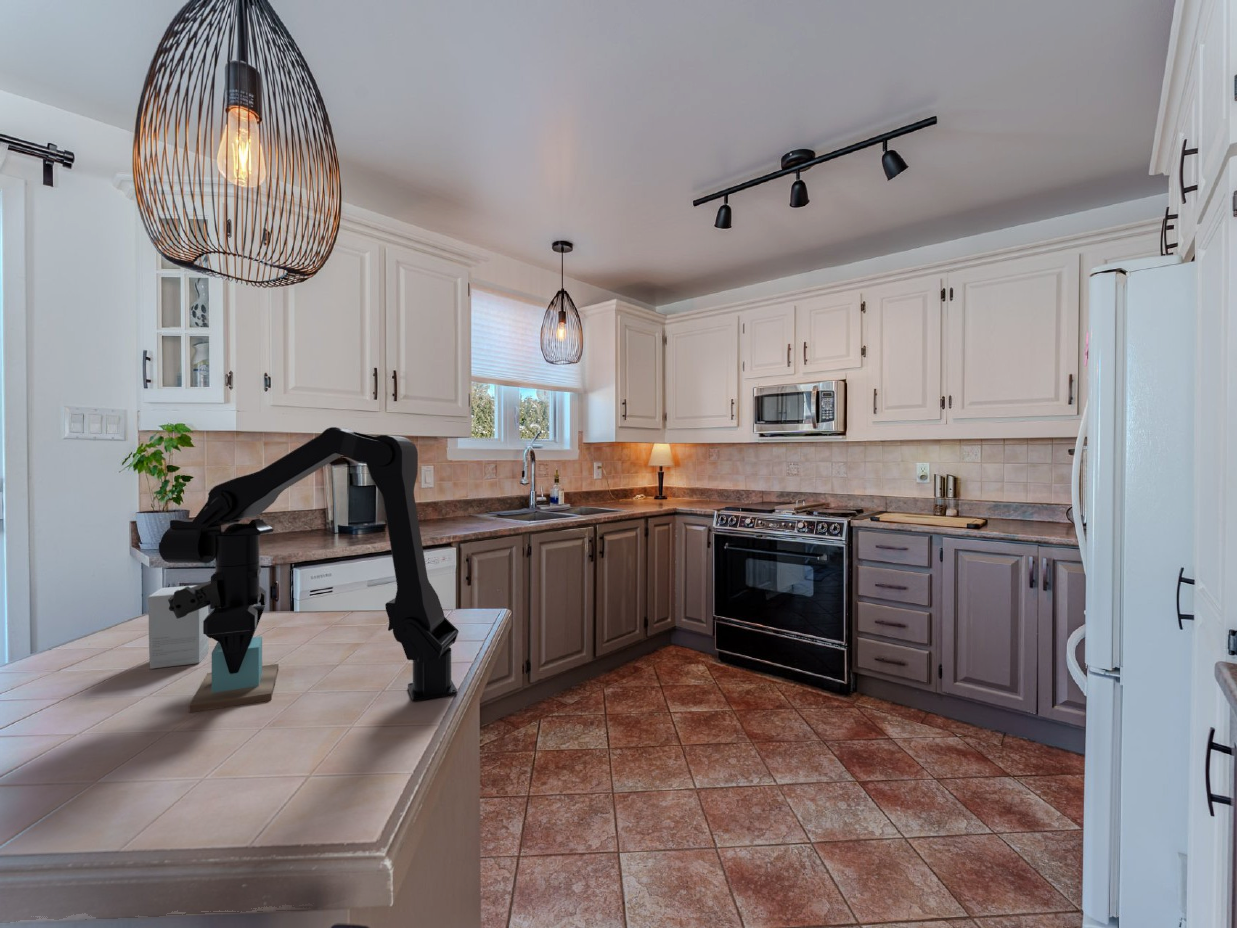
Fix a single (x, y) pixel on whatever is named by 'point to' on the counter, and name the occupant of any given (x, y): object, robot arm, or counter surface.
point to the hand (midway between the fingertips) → (238, 663)
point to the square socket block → (247, 672)
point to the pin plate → (234, 692)
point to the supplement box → (175, 632)
